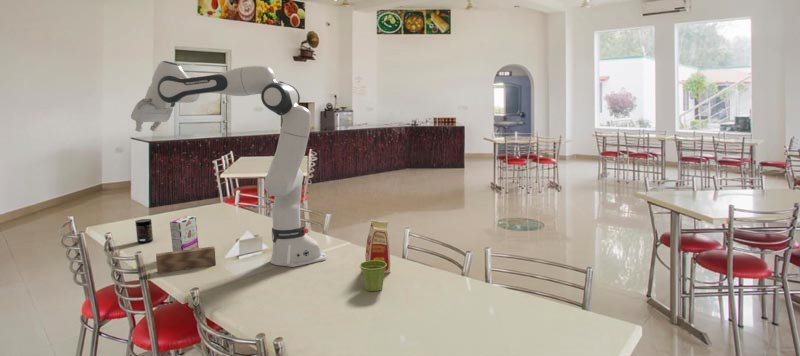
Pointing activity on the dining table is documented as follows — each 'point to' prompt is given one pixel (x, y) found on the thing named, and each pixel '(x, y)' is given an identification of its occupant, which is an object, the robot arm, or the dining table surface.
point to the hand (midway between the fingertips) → (145, 130)
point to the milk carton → (378, 244)
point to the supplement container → (144, 231)
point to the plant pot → (373, 274)
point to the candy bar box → (184, 233)
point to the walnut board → (185, 259)
